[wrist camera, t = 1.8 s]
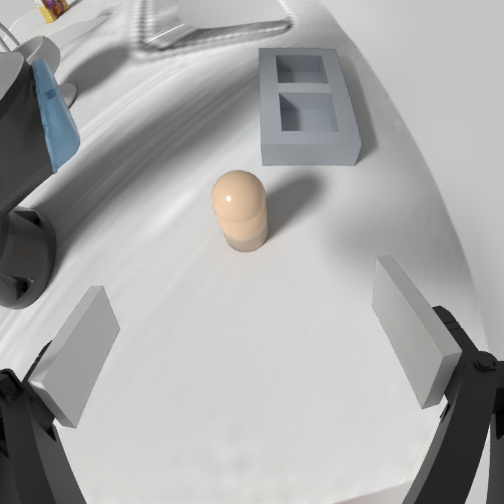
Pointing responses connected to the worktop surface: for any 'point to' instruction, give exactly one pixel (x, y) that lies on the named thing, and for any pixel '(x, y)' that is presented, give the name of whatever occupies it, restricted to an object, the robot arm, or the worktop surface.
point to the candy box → (51, 8)
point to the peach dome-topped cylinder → (241, 209)
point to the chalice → (50, 52)
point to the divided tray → (305, 109)
